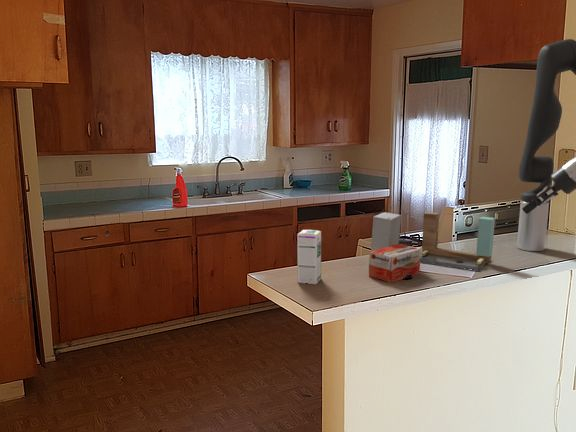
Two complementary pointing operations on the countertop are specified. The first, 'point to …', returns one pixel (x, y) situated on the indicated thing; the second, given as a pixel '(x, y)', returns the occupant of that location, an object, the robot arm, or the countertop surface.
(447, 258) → the flange plate
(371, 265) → the medicine box
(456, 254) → the wooden l-shaped stand
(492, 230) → the block
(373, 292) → the countertop surface
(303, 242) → the syrup box
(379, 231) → the skincare box
